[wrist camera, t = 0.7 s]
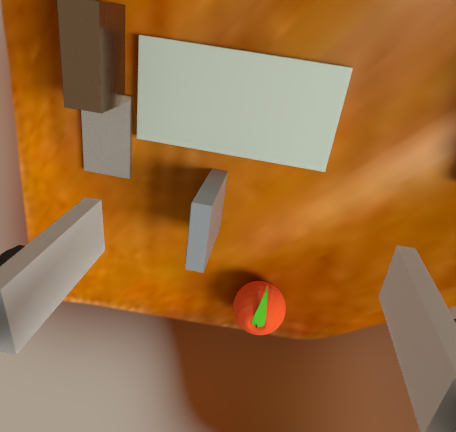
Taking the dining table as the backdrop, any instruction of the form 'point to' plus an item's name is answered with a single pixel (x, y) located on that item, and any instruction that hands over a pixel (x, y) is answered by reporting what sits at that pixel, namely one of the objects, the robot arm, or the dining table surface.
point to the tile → (205, 220)
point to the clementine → (259, 307)
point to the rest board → (239, 101)
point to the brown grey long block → (97, 82)
